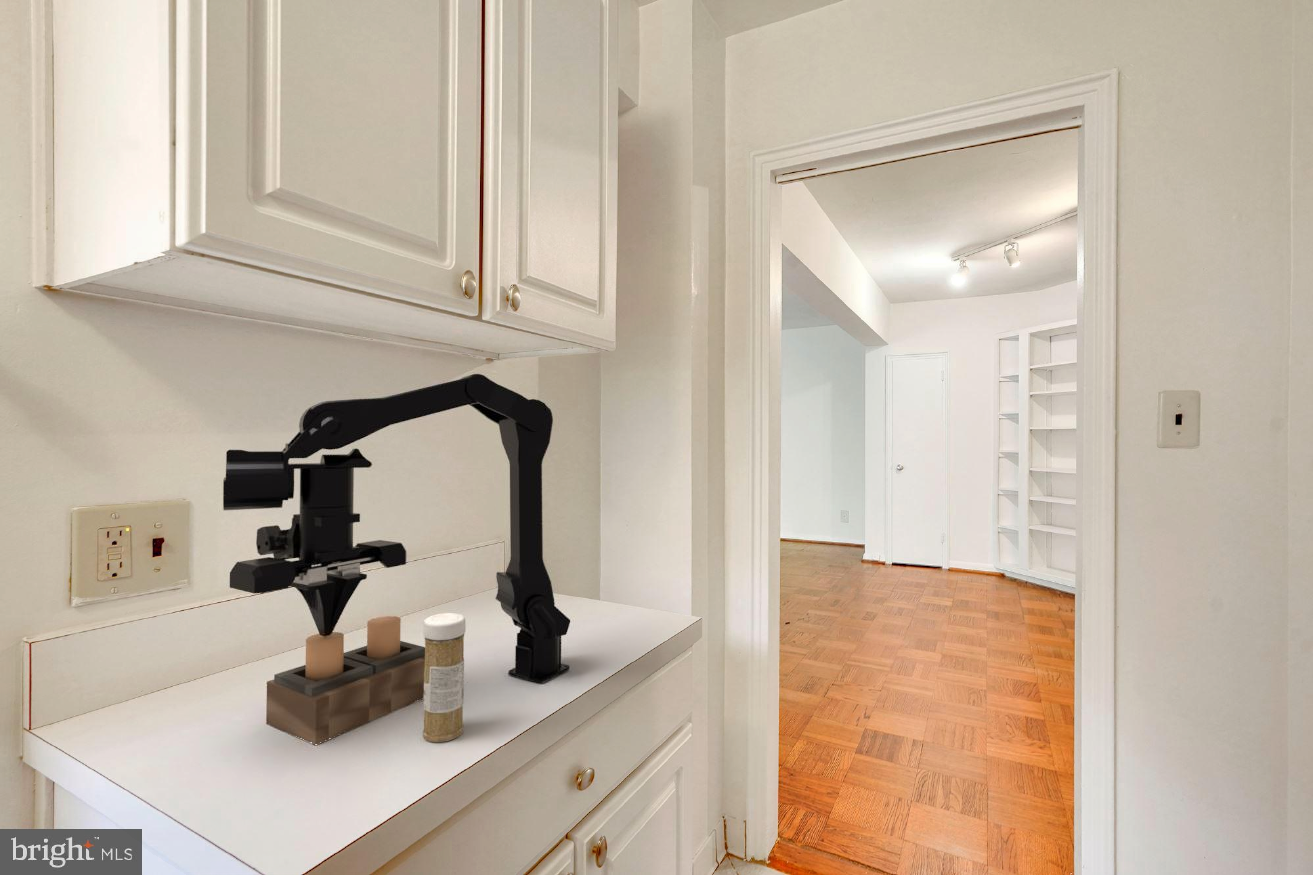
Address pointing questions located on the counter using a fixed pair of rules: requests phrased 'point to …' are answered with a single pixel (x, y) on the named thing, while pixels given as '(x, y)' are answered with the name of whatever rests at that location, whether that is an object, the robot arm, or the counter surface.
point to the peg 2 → (383, 637)
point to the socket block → (345, 693)
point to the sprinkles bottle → (443, 676)
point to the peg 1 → (324, 656)
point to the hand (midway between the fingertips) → (325, 635)
